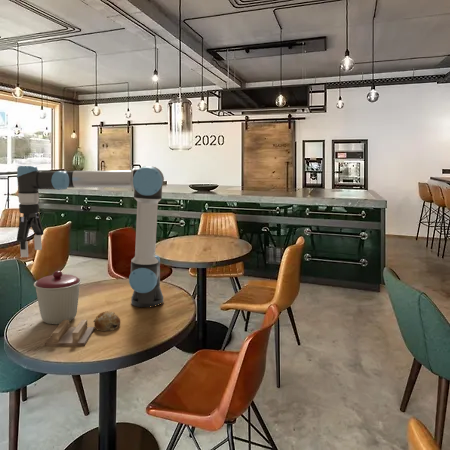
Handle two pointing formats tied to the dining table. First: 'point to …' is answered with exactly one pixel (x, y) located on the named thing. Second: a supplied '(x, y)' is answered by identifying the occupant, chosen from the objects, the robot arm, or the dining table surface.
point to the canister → (58, 297)
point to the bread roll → (107, 321)
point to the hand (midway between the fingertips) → (31, 253)
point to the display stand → (70, 334)
